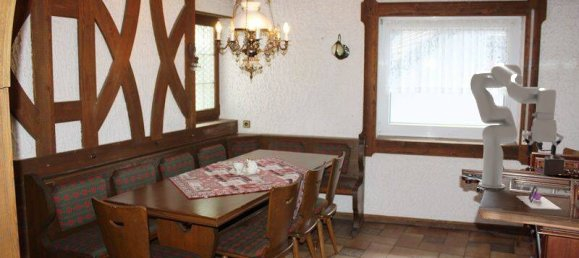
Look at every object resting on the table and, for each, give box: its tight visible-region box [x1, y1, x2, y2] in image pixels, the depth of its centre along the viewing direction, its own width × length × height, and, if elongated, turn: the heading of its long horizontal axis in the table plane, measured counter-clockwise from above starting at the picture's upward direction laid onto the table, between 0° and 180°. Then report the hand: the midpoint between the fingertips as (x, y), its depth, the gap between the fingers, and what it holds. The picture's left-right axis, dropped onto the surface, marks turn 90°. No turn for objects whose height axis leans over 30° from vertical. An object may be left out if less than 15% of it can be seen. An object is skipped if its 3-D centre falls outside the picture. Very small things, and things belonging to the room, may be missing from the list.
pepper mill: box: [535, 142, 565, 176], centre depth 309 cm, size 16×11×18 cm
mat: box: [516, 195, 562, 211], centre depth 239 cm, size 22×12×1 cm, turn 173°
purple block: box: [528, 184, 542, 203], centre depth 240 cm, size 7×5×9 cm
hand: (541, 153), depth 240 cm, fingers open, 9 cm apart
